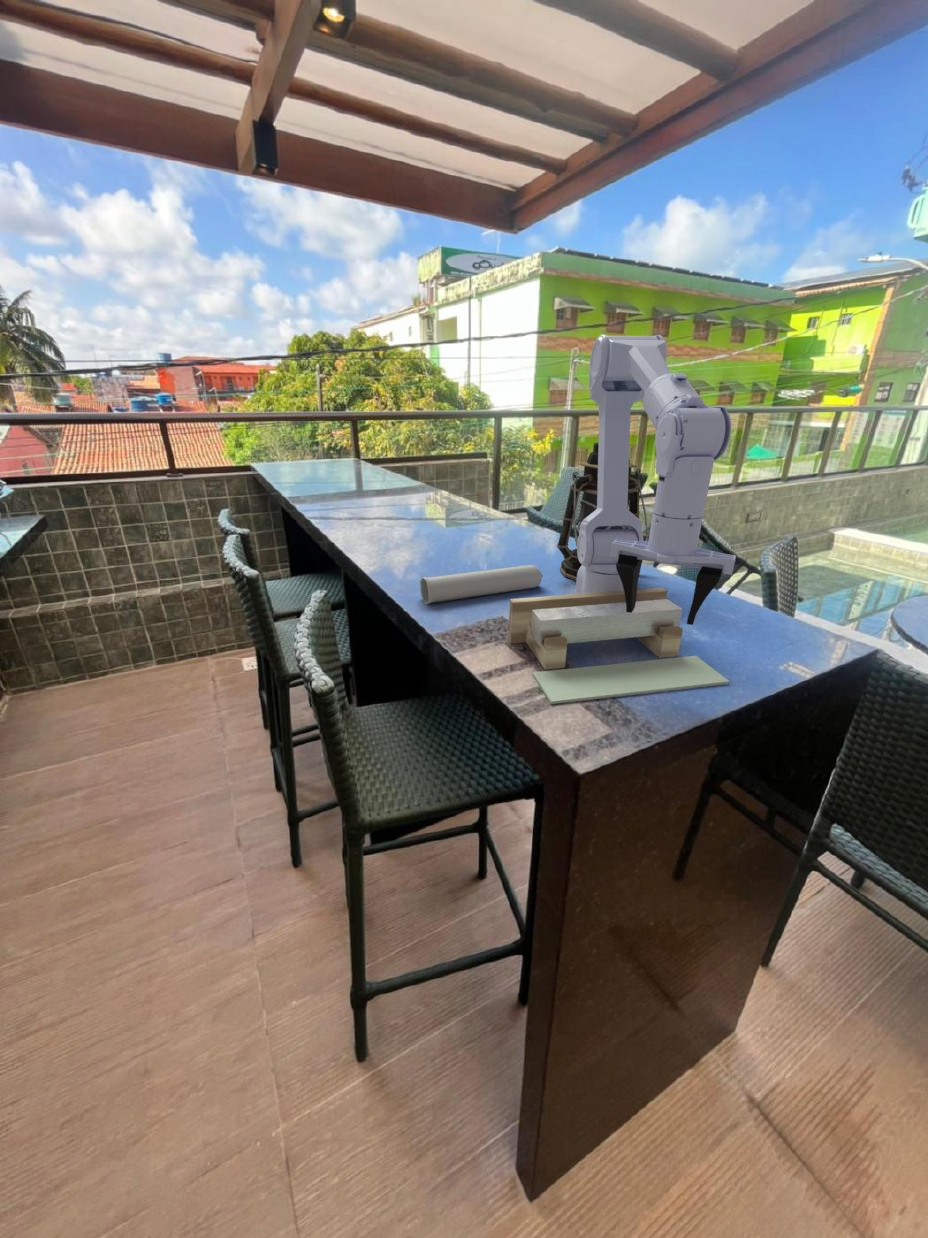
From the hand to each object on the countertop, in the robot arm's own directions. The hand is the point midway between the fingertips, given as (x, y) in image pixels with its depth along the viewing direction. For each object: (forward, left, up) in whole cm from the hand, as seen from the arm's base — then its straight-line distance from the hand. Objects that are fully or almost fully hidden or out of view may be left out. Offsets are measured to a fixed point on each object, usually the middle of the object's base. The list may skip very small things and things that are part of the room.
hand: (659, 615), depth 67 cm
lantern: (-43, +12, -9) cm, 46 cm away
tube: (-36, -15, -10) cm, 40 cm away
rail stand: (-10, -3, -9) cm, 14 cm away
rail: (-8, -3, -6) cm, 11 cm away
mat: (0, -3, -9) cm, 10 cm away
